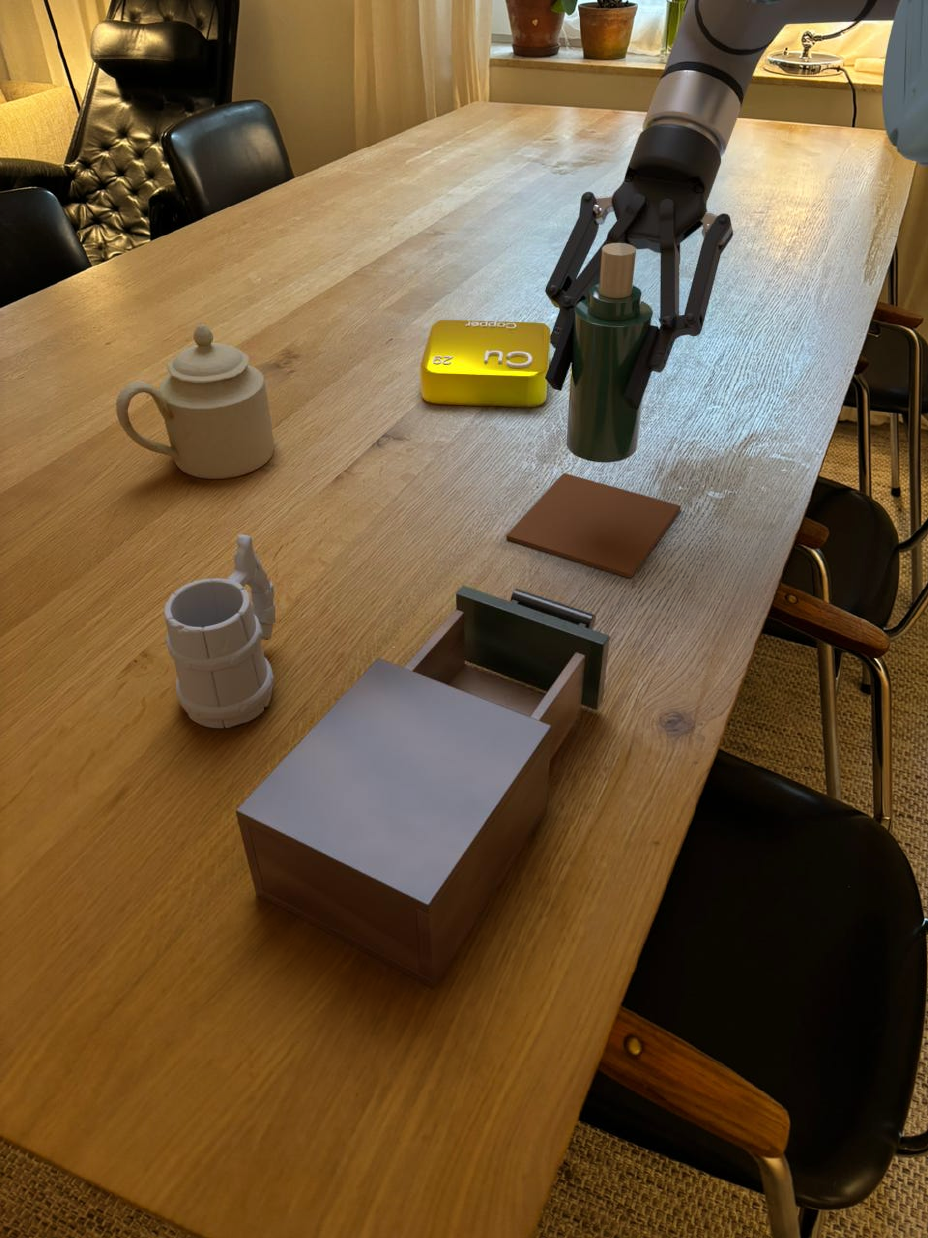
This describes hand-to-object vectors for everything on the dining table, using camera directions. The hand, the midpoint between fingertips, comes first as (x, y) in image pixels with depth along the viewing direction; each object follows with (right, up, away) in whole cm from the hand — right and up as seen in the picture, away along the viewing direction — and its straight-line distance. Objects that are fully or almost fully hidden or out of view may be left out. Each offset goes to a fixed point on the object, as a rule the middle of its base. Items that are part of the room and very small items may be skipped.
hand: (591, 393), depth 86 cm
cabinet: (-15, -36, -17) cm, 42 cm away
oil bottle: (+2, -3, +7) cm, 8 cm away
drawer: (-8, -27, -9) cm, 30 cm away
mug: (-29, -25, -4) cm, 39 cm away
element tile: (-8, +10, +37) cm, 39 cm away
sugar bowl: (-38, -2, +23) cm, 45 cm away
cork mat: (+2, -10, +13) cm, 16 cm away
